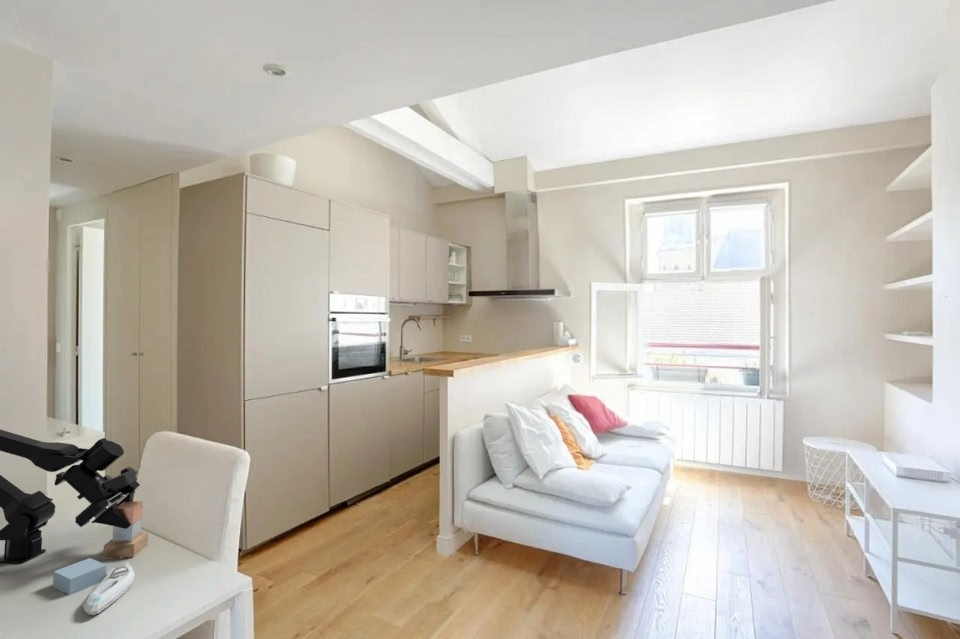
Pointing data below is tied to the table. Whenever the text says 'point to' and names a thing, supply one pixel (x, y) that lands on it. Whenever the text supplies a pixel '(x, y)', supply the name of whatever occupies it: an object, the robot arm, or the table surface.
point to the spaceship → (110, 589)
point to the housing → (134, 518)
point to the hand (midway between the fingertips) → (133, 523)
